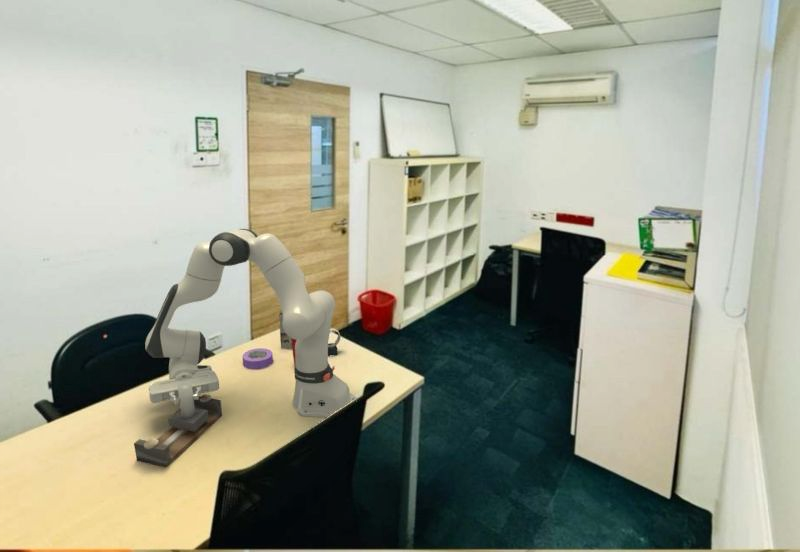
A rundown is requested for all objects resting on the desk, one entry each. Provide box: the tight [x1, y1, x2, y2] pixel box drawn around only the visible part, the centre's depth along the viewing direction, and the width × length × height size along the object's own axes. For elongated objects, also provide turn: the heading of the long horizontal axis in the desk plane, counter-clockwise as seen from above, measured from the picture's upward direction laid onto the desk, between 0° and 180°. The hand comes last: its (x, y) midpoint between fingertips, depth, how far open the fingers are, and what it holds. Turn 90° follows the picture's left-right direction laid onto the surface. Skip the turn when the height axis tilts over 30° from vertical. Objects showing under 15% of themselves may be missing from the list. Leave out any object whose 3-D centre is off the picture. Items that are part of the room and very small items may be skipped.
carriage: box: [167, 383, 209, 432], centre depth 144 cm, size 7×9×13 cm
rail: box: [133, 394, 223, 469], centre depth 143 cm, size 28×10×7 cm, turn 166°
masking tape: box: [242, 347, 274, 370], centre depth 189 cm, size 12×12×4 cm
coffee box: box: [278, 311, 292, 350], centre depth 204 cm, size 9×6×16 cm
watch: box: [328, 327, 341, 357], centre depth 198 cm, size 6×8×11 cm
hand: (186, 399), depth 143 cm, fingers closed on carriage, 4 cm apart
